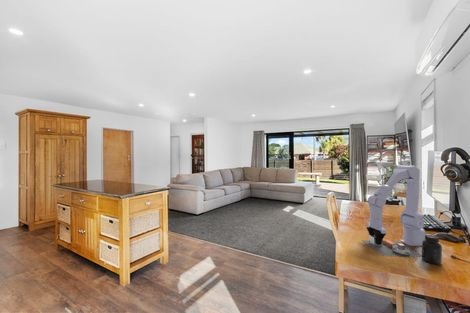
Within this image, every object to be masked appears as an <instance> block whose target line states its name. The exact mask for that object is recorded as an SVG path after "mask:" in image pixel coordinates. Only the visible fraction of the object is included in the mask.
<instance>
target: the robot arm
mask: <svg viewBox="0 0 470 313" xmlns="http://www.w3.org/2000/svg"><path fill="white" fill-rule="evenodd" d="M401 180H404V181H405V182H406V194H405V195H406V196H405V200H406V201H405V209H404V210H402V211H401V214H400V217H399V221H400V223H401V225H402V227H403V239H399V241H400V242H401V243H403V244H406V245H408V246H413V247H414V246H416V247H418V246H419V247H422V241H424V240H425V235H427V233H426V231H425V229H424V226H425V220H424V215H423V214H422V213H421V212H420V211H419V198H420V197H419V196H420V169H419V168H418V167H417V166H416V165H396V166H394V168H393V170H392V174H391V176H390V177H389V178H388V180H387V181H386V183H385V184H382V185H379V188H377V190H376V191H375V192H374V193H373V194H372V195H369V197H368V199H367V204H368V207H369V221H367V222H366V226H367V227H366V230H367V232H368V236H369V235H375V238H376V244H377V245H381V243H382V240H383V239H385V236H386V235H387V229H385V228H384V226H383V207H385V205H386V202H387V198H388V197H389V196H390V195H391V194H392V192H393V189H392V188H394V186H395V185H397V184H398V183H399V182H400V181H401Z"/></svg>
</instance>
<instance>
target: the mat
mask: <svg viewBox="0 0 470 313" xmlns="http://www.w3.org/2000/svg"><path fill="white" fill-rule="evenodd" d="M390 241H391V240H390ZM361 242H362V243H365V244H366V245H367V246H369V247H370V248H372V249H373V250H374V251H376V252H377V253H379V254H381V255H382V256H385V257H404V258H405V257H406V258H407V257H409V258H410V257H411V258H422V253H419V252H417V251H415V250H414V249H412V248H410V247H408V246H406V245H405V248H407V249H409V250H410V256H402V255H398V254H395V253H394V252H393V251H392V249H391V248H389V247H388V246H386V245H384V244H383V247H382V246H373V245H371V244H370V243H369V240H364V239H362V240H361ZM391 242H393V243H395V244H396V245H397V244H402V242H401V243H400V242H399V241H391Z"/></svg>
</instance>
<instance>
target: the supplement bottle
mask: <svg viewBox="0 0 470 313" xmlns="http://www.w3.org/2000/svg"><path fill="white" fill-rule="evenodd" d="M442 253H443V245H442V244H441V243H440V237H439V236H437V235H434V234H426V235H425V240H424V241H422V246H421V255H422V257H421V261H423V262H424V263H426V264H429V265H434V266H441V265H442V262H443V259H442V258H443V254H442Z"/></svg>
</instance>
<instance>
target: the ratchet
mask: <svg viewBox="0 0 470 313" xmlns="http://www.w3.org/2000/svg"><path fill="white" fill-rule="evenodd" d="M393 242H394V241H393ZM393 242H391V240H390V239H387V238H383V244H384V245H386V246H388V247H389V248H391V249H392V251H393V252H394V253H395V254H398V255H402V256H401V257H403V256H410V250H409V249H407V248H405V246H406V245H405V244H404V243H401V244H397V245H396V244H395V243H393Z"/></svg>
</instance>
